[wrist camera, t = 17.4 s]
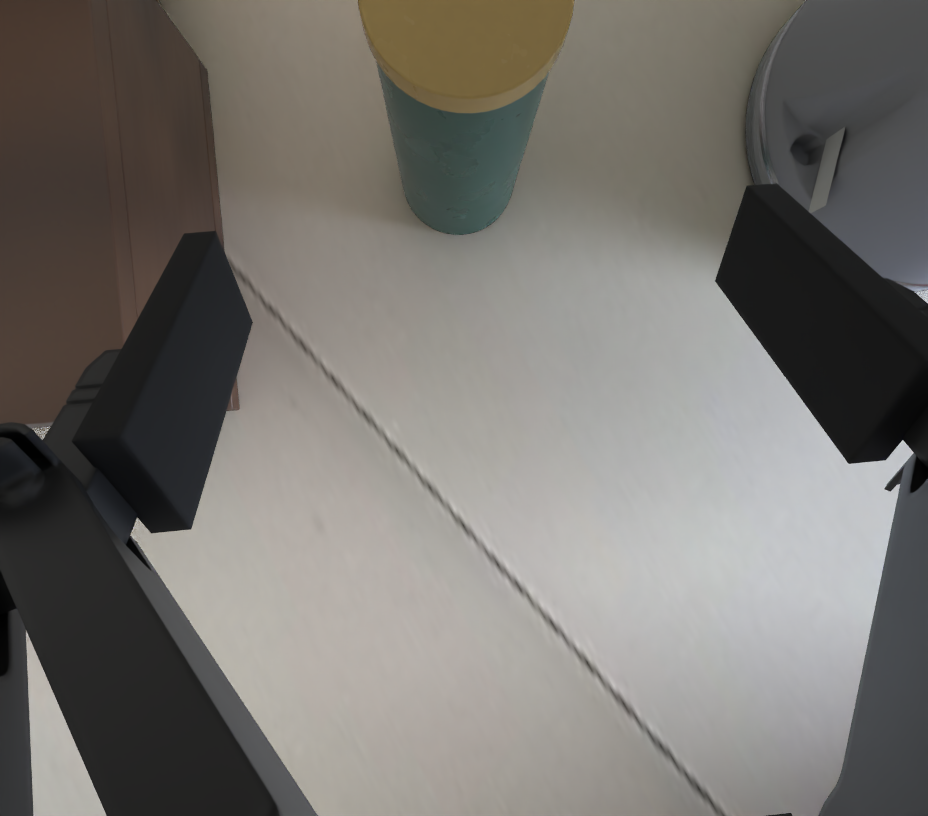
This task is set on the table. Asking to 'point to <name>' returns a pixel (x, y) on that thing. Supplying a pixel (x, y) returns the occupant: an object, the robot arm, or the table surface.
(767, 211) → the robot arm
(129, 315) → the cabinet
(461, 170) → the tea tin
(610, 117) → the table surface
